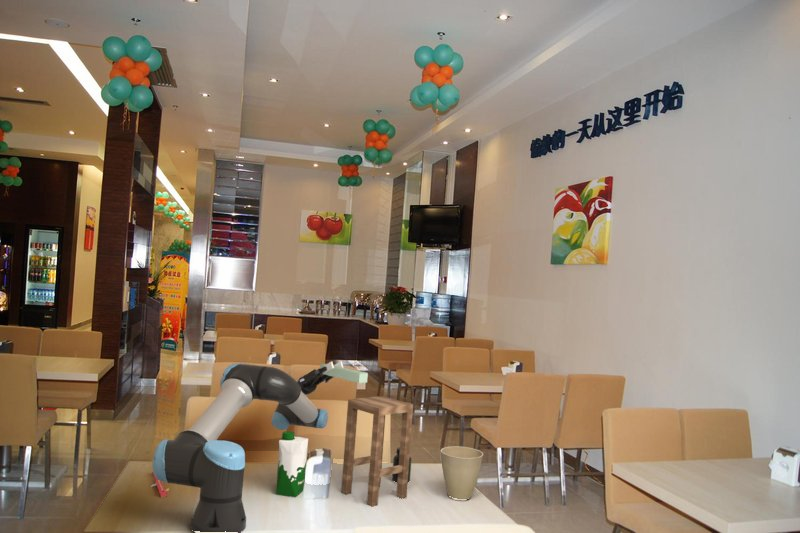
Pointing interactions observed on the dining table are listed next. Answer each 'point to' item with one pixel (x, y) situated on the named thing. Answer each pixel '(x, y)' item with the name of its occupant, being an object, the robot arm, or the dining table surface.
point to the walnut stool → (377, 445)
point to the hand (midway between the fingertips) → (337, 364)
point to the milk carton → (291, 464)
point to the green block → (347, 374)
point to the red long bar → (160, 487)
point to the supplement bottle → (396, 462)
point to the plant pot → (460, 470)
